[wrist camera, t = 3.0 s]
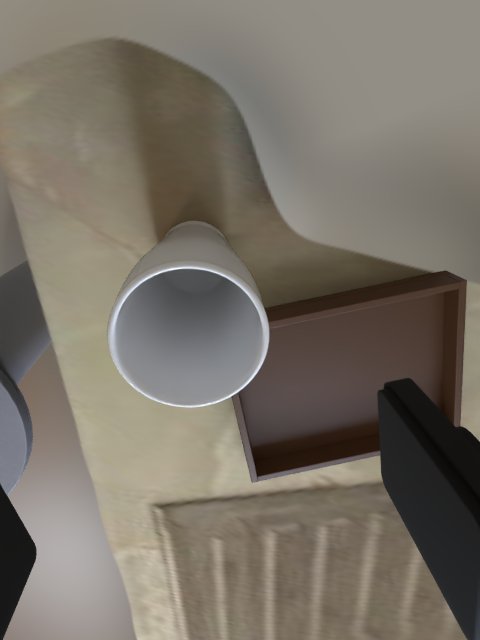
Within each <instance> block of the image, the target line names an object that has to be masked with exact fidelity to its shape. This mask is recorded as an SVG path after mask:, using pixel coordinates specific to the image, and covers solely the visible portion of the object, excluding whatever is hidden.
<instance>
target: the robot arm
mask: <svg viewBox="0 0 480 640" xmlns="http://www.w3.org/2000/svg"><path fill="white" fill-rule="evenodd" d="M377 398H378V417H379V437H380V456H381V474H382V479H383V483H384V486H385V488H386V490H387V492H388V494H389V496H390V498H391V499H392V501H393V503H394V505H395V507H396V509H397V511H398V512H399V514H400V516H401V518H402V520H403V522H404V524H405V525H406V527H407V529H408V531H409V533H410V535H411V537H412V538H413V540H414V542H415V544H416V546H417V548H418V549H419V551H420V553H421V555H422V557H423V559H424V561H425V562H426V564H427V566H428V568H429V570H430V572H431V574H432V575H433V577H434V579H435V581H436V583H437V585H438V587H439V588H440V590H441V592H442V594H443V596H444V598H445V600H446V601H447V603H448V605H449V607H450V609H451V611H452V613H453V614H454V616H455V618H456V620H457V622H458V624H459V626H460V627H461V629H462V631H463V633H464V635H465V636H466V638H467V639H468V640H480V442H479V441H478V440H477V439H476V437H475V436H474V435H473V434H472V433H471V432H469V431H468V430H467V429H466V428H464V427H461V426H460V427H455V426H454V425H453V423H452V422H451V421H450V420H449V419H448V418H447V417H446V416H445V415H444V414H443V413H442V411H441V410H440V409H439V408H438V407H437V406H436V405H435V404H434V403H433V402H432V401H431V399H430V398H429V397H428V396H427V395H426V394H425V393H424V392H423V391H422V390H421V389H420V387H419V386H418V385H417V384H416V383H415V382H414V381H413V380H412V379H411V378H405V379H400V380H395V381H390V382H386V383H385V384H384V389H382V390H379V391H378V393H377ZM35 560H36V546H35V543H34V542H33V540H32V538H31V536H30V535H29V533H28V531H27V530H26V528H25V526H24V524H23V522H22V521H21V519H20V517H19V516H18V514H17V512H16V510H15V509H14V507H13V505H12V504H11V502H10V500H9V498H8V496H7V495H6V493H5V491H4V489H3V488H2V486H1V484H0V640H3V637H4V635H5V632H6V630H7V628H8V625H9V623H10V621H11V618H12V616H13V613H14V611H15V608H16V606H17V604H18V601H19V599H20V596H21V594H22V591H23V589H24V587H25V585H26V582H27V579H28V577H29V575H30V572H31V570H32V567H33V565H34V563H35Z"/></svg>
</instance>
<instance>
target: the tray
mask: <svg viewBox="0 0 480 640" xmlns="http://www.w3.org/2000/svg"><path fill="white" fill-rule="evenodd" d="M466 285H467V280H465V279H463V278H461V277H459V276H456V275H454V274H452V273H450V272H448V271H442V272H436V273H431V274H427V275H422V276H417V277H412V278H408V279H403V280H398V281H393V282H389V283H384V284H379V285H374V286H370V287H365V288H360V289H355V290H350V291H346V292H341V293H336V294H331V295H327V296H322V297H317V298H312V299H308V300H303V301H298V302H293V303H288V304H284V305H279V306H274V307H269V308H265V311H266V315H267V318H268V324H269V345H268V350H267V354H266V357H265V359H264V362H263V364H262V366H261V368H260V369H259V371H258V373H257V374H256V375H255V377H254V378H253V379H252V380H251V381H250V382H249V383H248V384H247V385H246V386H245V387H244V388H243V389H242V390H240V391H239V392H238V393H236V394H234V395H233V396H232V400H233V404H234V409H235V413H236V417H237V421H238V426H239V430H240V434H241V438H242V443H243V447H244V451H245V456H246V460H247V464H248V468H249V473H250V477H251V481H252V483H253V482H258V481H262V480H267V479H271V478H276V477H281V476H285V475H290V474H295V473H299V472H304V471H309V470H313V469H318V468H323V467H327V466H332V465H337V464H341V463H346V462H351V461H355V460H360V459H365V458H369V457H374V456H379V455H380V437H379V417H378V398H377V393H378V391H379V390H382V389H384V384H385V383H386V382H390V381H395V380H400V379H405V378H411V379H412V380H413V381H414V382H415V383H416V384H417V385H418V386H419V387H420V389H421V390H422V391H423V392H424V393H425V394H426V395H427V396H428V397H429V398H430V399H431V401H432V402H433V403H434V404H435V405H436V406H437V407H438V408H439V409H440V410H441V411H442V413H443V414H444V415H445V416H446V417H447V418H448V419H449V420H450V421H451V422H452V423H453V425H454V426H455V427H460V419H461V397H462V375H463V352H464V330H465V308H466Z"/></svg>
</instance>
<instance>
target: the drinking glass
mask: <svg viewBox="0 0 480 640" xmlns="http://www.w3.org/2000/svg"><path fill="white" fill-rule="evenodd" d="M107 339H108V346H109V350H110V354H111V357H112V359H113V361H114V364H115V366H116V367H117V369H118V371H119V372H120V374H121V375H122V376H123V378H124V379H125V380H126V381H127V382H128V383H129V384H130V385H131V386H132V387H133V388H135V389H136V390H137V391H139V392H140V393H142V394H143V395H145V396H147V397H149V398H151V399H153V400H155V401H158V402H160V403H163V404H167V405H172V406H178V407H200V406H206V405H211V404H214V403H218V402H220V401H223V400H225V399H227V398H229V397H231V396H233V395H234V394H236V393H238V392H239V391H240V390H242V389H243V388H244V387H245V386H246V385H247V384H248V383H249V382H250V381H251V380H252V379H253V378H254V377H255V375H256V374H257V373H258V371H259V369H260V368H261V366H262V364H263V362H264V359H265V357H266V354H267V350H268V345H269V324H268V318H267V315H266V311H265V308H264V304H263V301H262V297H261V295H260V292H259V290H258V287H257V285H256V282H255V280H254V278H253V277H252V275H251V273H250V271H249V270H248V268H247V267H246V265H245V264H244V262H243V261H242V260H241V259H240V257H239V256H238V255H237V254H236V253H235V251H234V250H233V249H232V248H231V247H230V245H229V244H228V241H227V240H226V238H225V236H224V235H223V234H222V233H221V232H220V231H219V230H218V229H217V228H216V227H214V226H212V225H210V224H208V223H205V222H202V221H186V222H183V223H180V224H178V225H176V226H174V227H173V228H172V229H170V230H169V231H168V232H167V233H166V235H165V236H164V238H163V239H162V240H161V241H160V242H159V243H158V244H157V245H155V246H154V247H153V248H152V249H151V250H150V251H148V252H147V253H146V254H145V255H144V256H143V257H142V258H141V259H140V260H139V262H138V263H137V264H136V265H135V267H134V268H133V269H132V271H131V272H130V274H129V275H128V277H127V278H126V280H125V282H124V283H123V285H122V287H121V289H120V292H119V294H118V296H117V298H116V301H115V303H114V305H113V307H112V310H111V313H110V316H109V321H108V328H107Z"/></svg>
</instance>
